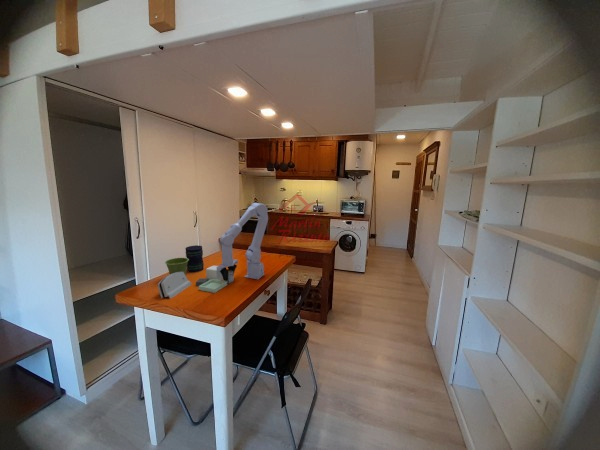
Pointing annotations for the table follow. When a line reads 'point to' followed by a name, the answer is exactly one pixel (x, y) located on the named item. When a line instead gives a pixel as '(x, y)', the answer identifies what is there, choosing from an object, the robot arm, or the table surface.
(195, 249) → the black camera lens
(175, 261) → the plant pot
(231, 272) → the block
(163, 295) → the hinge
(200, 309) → the table surface
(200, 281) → the square block
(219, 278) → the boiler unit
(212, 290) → the tray
